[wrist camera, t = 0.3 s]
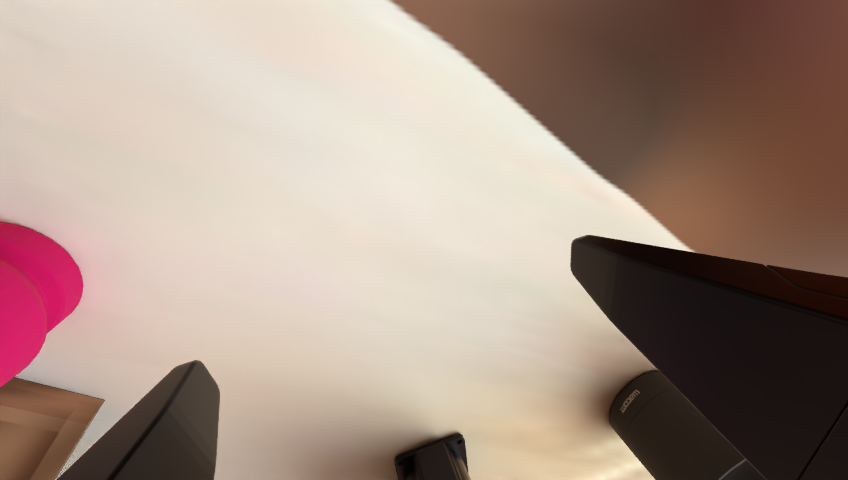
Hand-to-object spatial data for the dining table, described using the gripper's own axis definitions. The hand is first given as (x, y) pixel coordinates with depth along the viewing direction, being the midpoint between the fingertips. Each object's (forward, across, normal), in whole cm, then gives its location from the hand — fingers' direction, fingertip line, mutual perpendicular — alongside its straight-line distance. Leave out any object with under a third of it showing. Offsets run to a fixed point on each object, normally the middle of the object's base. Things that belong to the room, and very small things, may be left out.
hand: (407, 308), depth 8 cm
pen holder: (+12, -24, +32) cm, 42 cm away
